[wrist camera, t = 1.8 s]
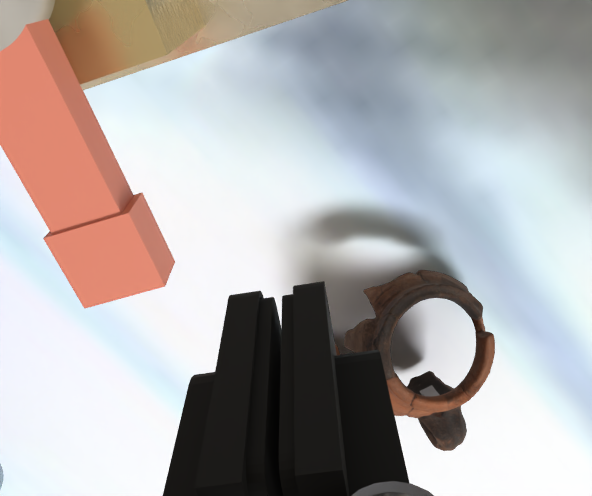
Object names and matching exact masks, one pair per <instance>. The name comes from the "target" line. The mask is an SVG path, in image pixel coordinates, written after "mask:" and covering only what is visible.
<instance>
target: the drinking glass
mask: <svg viewBox="0 0 592 496" xmlns="http://www.w3.org/2000/svg"><path fill="white" fill-rule="evenodd" d="M2 482H3V470H2V467H1V464H0V489H1V486H2Z"/></svg>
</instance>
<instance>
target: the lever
mask: <svg viewBox="0 0 592 496" xmlns="http://www.w3.org/2000/svg"><path fill="white" fill-rule="evenodd" d="M54 3H55V0H0V145H1V147H2V148H3V150H4V152H5V154H6V155H7V157H8V159H9V161H10V162H11V164H12V166H13V167H14V169H15V171H16V173H17V174H18V176H19V178H20V180H21V181H22V183H23V185H24V187H25V188H26V190H27V192H28V193H29V195H30V197H31V199H32V200H33V202H34V204H35V206H36V207H37V209H38V211H39V213H40V214H41V216H42V218H43V219H44V221H45V223H46V225H47V226H48V228H49V230H50V232H49V233H48V234H47V235H46V236H45V237H44V238H43V239H44V240H45V242H46V244H47V245H48V247H49V249H50V251H51V252H52V254H53V256H54V257H55V259H56V261H57V262H58V264H59V266H60V268H61V269H62V271H63V273H64V274H65V276H66V278H67V280H68V281H69V283H70V285H71V286H72V288H73V290H74V291H75V293H76V295H77V297H78V298H79V300H80V302H81V303H82V305H83V307H84V308H88V307H92V306H95V305H99V304H103V303H106V302H110V301H113V300H117V299H121V298H124V297H128V296H131V295H135V294H139V293H142V292H146V291H150V290H153V289H157V288H160V287H164V286H165V285H166V283H167V280H168V278H169V275H170V273H171V270H172V268H173V265H174V263H175V261H174V259H173V256H172V254H171V252H170V250H169V248H168V246H167V244H166V242H165V240H164V238H163V235H162V233H161V231H160V229H159V227H158V225H157V223H156V221H155V219H154V217H153V214H152V212H151V210H150V208H149V206H148V204H147V202H146V200H145V198H144V195H143V193H139V194H136V195H133V193H132V191H131V189H130V187H129V185H128V183H127V181H126V179H125V177H124V175H123V173H122V170H121V168H120V166H119V164H118V162H117V160H116V158H115V156H114V154H113V152H112V150H111V148H110V146H109V144H108V142H107V139H106V137H105V135H104V133H103V131H102V129H101V127H100V125H99V123H98V121H97V119H96V117H95V115H94V113H93V111H92V109H91V106H90V104H89V102H88V100H87V98H86V96H85V94H84V92H83V90H82V88H81V86H80V84H79V82H78V80H77V78H76V75H75V73H74V71H73V69H72V67H71V65H70V63H69V61H68V59H67V57H66V55H65V53H64V51H63V49H62V47H61V44H60V42H59V40H58V38H57V36H56V34H55V32H54V30H53V28H52V26H51V24H50V22H49V18H50V16H51V14H52V11H53V8H54Z"/></svg>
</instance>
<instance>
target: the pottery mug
mask: <svg viewBox="0 0 592 496" xmlns="http://www.w3.org/2000/svg"><path fill="white" fill-rule="evenodd" d="M364 293H365V294H366V295H367V297H368V299H369V300H370V303H371V305H372V307H373V309H374V311H375V314H376V318H375V319H366V320H364V321H362V322H360V323H359V324H358V325H357V326H356V327H355V328H354V329H351V330H348V331H347V332H346V334H345V339H344V346H345V348H347V349H349V350H351V351H354V352H355V353H358V352H365V351H372V350H379V351H380V355H381V359H382V363H383V368H384V372H385V377H386V381H387V385H388V390H389V394H390V399H391V403H392V408H393V412H394V415H396V416H404V415H407V416H409V417H414V418H418V420H419V422H420V424H421V426H422V428H423V430H424V431H425V433H426V435H427V437H428V438H429V440H430V441H431V443H432V444H433V445H434V446H435V447H436V448H438V449H441V450H443V451H447V450H449V451H451V450H453V449H455V448H456V447H457V446H458V445H460V444H461V443H462V442H463V440H464V438H465V436H466V432H467V430H466V424H465V420H464V418H463V415H462V412H461V405H462V404H464V403H466V402H467V401H469V400H470V399H471V397H473V396H474V395H475V394H476V393H477V392H478V391H479V389H480V388H481V386H482V385H483V383H484V382H485V380H486V379H487V377H488V375H489V373H490V369H491V366H492V363H493V358H494V354H495V340H494V335H493V334H492V333H490V332H485V327H484V324H483V318H482V312H483V306H482V304H481V303H480V302H479V301H478V300H477V299H476V298H475V297H473V296H472V294H471V293H469V291H468V289H467V287H466V286H465V285H464V284H463V283H461V282H460V281H458V280H456V279H454V278H452V277H450V276H448V275H446V274H443V273H439V272H435V271H427V270H419V271H418V272H417V273H416V274H413V273H406V274H404V275H401V276H399V277H398V278H396V279H394V280H393V281H391V282H389V283H386V284H384V285H380V286H377V287H371V288H368V289H365V290H364ZM429 298H444V299H448V300H451V301H453V302H455V303H456V304H458V305H459V306H461V307H462V308H463V309H464V310H465V311H466V313H467V314H468V315H469V316H470V317H471V319H472V321H473V323H474V326H475V330H476V353H475V358H474V361H473V364H472V366H471V369H470V371H469V372H468V374H467V376H466V377H465V379H464V380H463V381H462V382H461V383H460V384H459V385H458V386H457V387H456V388H452V387H450V386H448V385H445V384H444V383H443V382H442V381H441V380H440V379H439V378H437V377H436V376H435V375H434V373H433V372H431V371H429V372H426V373H424V374H422V375H420V376H417V377H414V378H412V379H411V380H410V383H409V385H408V386H407V387H406V386H405V385H404V384H403V383H402V382H401V380H400V379H399V377H398V376H397V374H396V373H395V372H394V369H393V365H392V361H391V355H390V348H391V340H392V335H393V332H394V329H395V327H396V324H397V322H398V320H399V319H400V318H401V317H402V315H403V314H404V313H405V312H406V311H407V310H408V309H410V308H411V307H412V306H413V305H415V304H416V303H418V302H420V301H422V300H425V299H429ZM335 348H336V354H337V355H340V353H339V349H338V347H337V345H335Z"/></svg>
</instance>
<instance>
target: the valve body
mask: <svg viewBox="0 0 592 496" xmlns="http://www.w3.org/2000/svg"><path fill="white" fill-rule="evenodd" d="M345 1H348V0H55V3H54V8H53V11H52V14H51V16H50V18H49V22H50V24H51V26H52V28H53V30H54V32H55V34H56V36H57V38H58V40H59V42H60V44H61V47H62V49H63V51H64V53H65V55H66V57H67V59H68V61H69V63H70V65H71V67H72V69H73V71H74V73H75V75H76V78H77V80H78V82H79V84H80V86H81V88H82V90H85V89H88V88H91V87H94V86H97V85H100V84H103V83H106V82H109V81H112V80H115V79H118V78H121V77H124V76H127V75H129V74H132V73H135V72H138V71H141V70H144V69H147V68H150V67H153V66H156V65H159V64H162V63H165V62H168V61H171V60H174V59H177V58H180V57H183V56H186V55H189V54H191V53H194V52H197V51H200V50H203V49H206V48H209V47H212V46H215V45H218V44H221V43H224V42H227V41H230V40H233V39H236V38H239V37H242V36H245V35H248V34H250V33H253V32H256V31H259V30H262V29H265V28H268V27H271V26H274V25H277V24H280V23H283V22H286V21H289V20H292V19H295V18H298V17H301V16H304V15H307V14H309V13H312V12H315V11H318V10H321V9H324V8H327V7H330V6H333V5H336V4H339V3H342V2H345Z"/></svg>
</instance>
